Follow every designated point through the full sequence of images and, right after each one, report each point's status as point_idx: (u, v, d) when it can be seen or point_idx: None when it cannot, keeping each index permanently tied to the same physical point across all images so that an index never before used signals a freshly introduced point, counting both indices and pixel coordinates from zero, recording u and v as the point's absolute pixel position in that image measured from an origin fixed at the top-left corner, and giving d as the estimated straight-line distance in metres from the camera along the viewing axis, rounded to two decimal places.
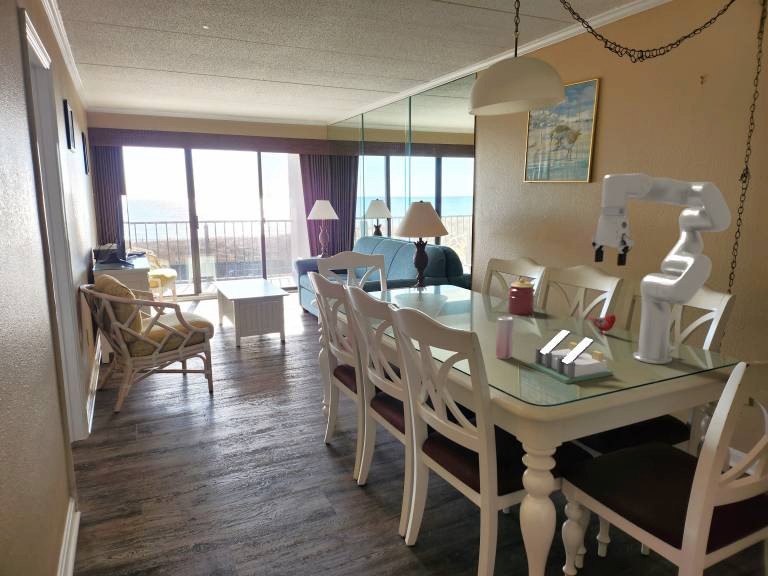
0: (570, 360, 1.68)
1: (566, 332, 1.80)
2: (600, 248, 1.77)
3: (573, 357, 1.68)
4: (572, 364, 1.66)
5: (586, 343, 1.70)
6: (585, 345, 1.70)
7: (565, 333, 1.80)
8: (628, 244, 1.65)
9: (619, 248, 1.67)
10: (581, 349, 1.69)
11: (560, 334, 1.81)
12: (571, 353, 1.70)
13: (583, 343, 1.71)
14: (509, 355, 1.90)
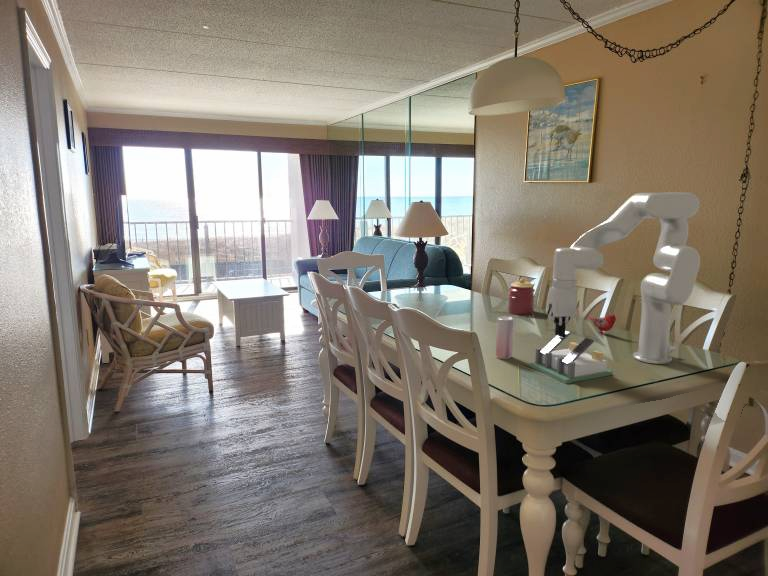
0: (570, 360, 1.68)
1: (566, 332, 1.80)
2: None
3: (573, 357, 1.68)
4: (572, 364, 1.66)
5: (586, 343, 1.70)
6: (585, 345, 1.70)
7: (565, 333, 1.80)
8: (571, 317, 1.80)
9: (567, 319, 1.79)
10: (581, 349, 1.69)
11: None
12: (571, 353, 1.70)
13: (583, 343, 1.71)
14: (509, 355, 1.90)
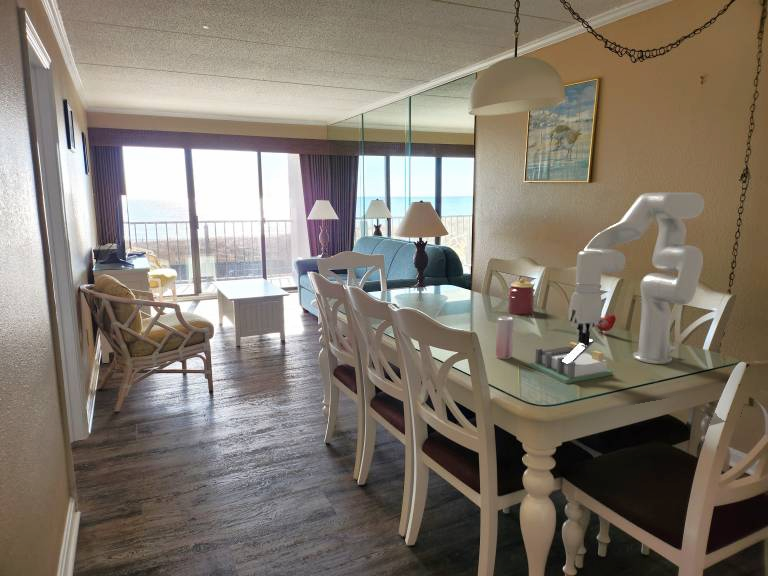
0: (570, 360, 1.68)
1: (571, 348, 1.82)
2: None
3: (573, 357, 1.68)
4: (572, 364, 1.66)
5: None
6: (585, 345, 1.70)
7: (569, 348, 1.82)
8: (595, 323, 1.70)
9: (591, 326, 1.69)
10: (581, 349, 1.69)
11: (565, 348, 1.83)
12: (571, 353, 1.70)
13: None
14: (509, 355, 1.90)
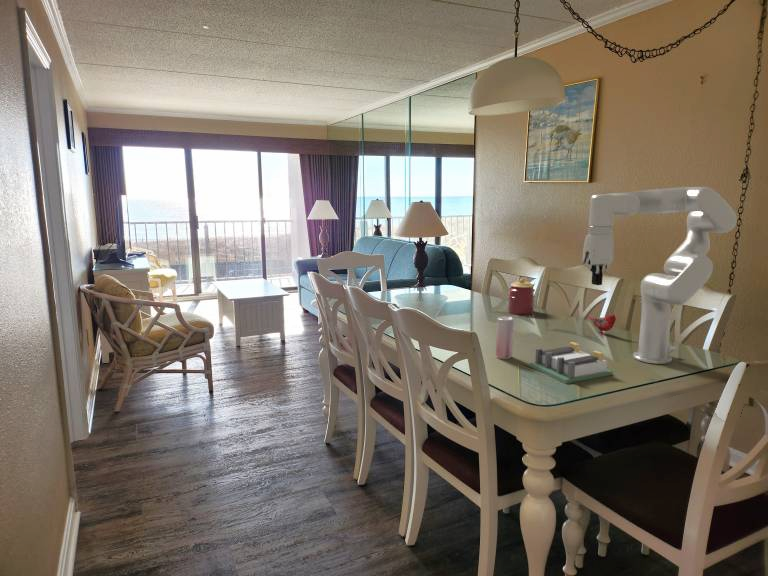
0: None
1: (571, 348, 1.82)
2: None
3: (575, 361, 1.69)
4: (572, 364, 1.66)
5: (590, 358, 1.72)
6: (589, 358, 1.71)
7: (569, 348, 1.82)
8: (607, 265, 1.77)
9: (604, 268, 1.76)
10: (584, 359, 1.70)
11: (565, 348, 1.83)
12: (573, 359, 1.71)
13: (587, 357, 1.73)
14: (509, 355, 1.90)
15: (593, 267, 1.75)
